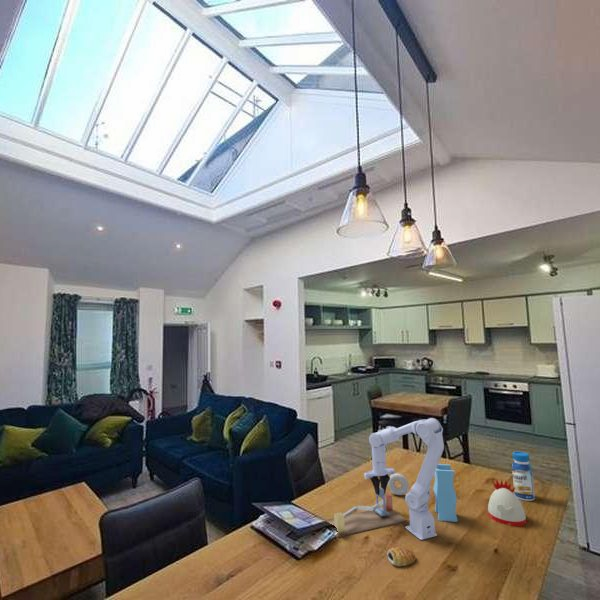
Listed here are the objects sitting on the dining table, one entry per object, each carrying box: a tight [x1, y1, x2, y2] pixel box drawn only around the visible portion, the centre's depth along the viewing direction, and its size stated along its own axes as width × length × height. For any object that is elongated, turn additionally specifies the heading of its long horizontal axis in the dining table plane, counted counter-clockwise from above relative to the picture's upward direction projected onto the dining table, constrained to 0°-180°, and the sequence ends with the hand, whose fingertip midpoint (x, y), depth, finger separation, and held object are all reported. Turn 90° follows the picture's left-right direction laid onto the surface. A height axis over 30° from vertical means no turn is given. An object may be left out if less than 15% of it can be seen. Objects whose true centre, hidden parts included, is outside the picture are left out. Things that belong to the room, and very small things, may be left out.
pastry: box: [386, 546, 417, 568], centre depth 119 cm, size 9×7×4 cm
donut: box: [387, 472, 410, 496], centre depth 169 cm, size 10×4×10 cm, turn 68°
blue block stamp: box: [374, 486, 389, 516], centre depth 149 cm, size 4×6×10 cm, turn 20°
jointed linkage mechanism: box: [333, 492, 394, 535], centre depth 144 cm, size 5×32×6 cm, turn 123°
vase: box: [432, 463, 458, 523], centre depth 148 cm, size 8×8×20 cm
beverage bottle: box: [511, 451, 536, 502], centre depth 164 cm, size 8×8×20 cm
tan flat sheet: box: [324, 509, 408, 539], centre depth 144 cm, size 13×32×1 cm, turn 110°
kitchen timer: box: [487, 478, 527, 527], centre depth 146 cm, size 14×14×15 cm
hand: (380, 493), depth 149 cm, fingers closed on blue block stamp, 2 cm apart
